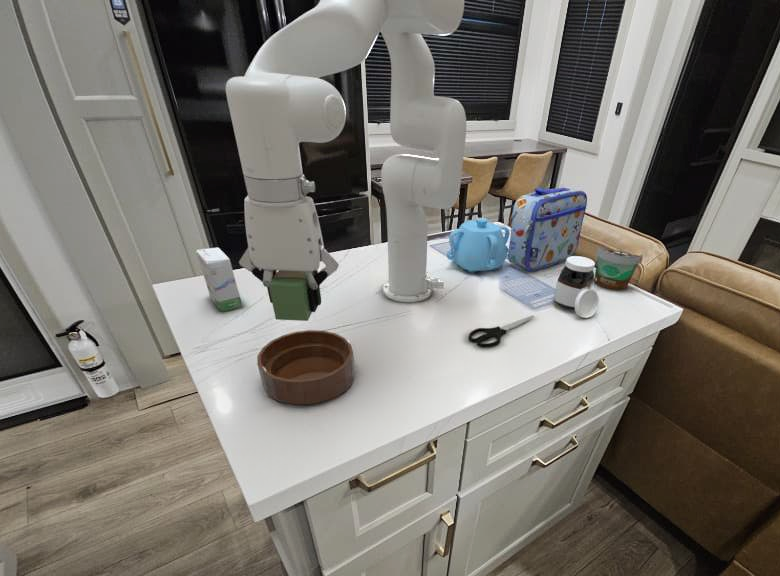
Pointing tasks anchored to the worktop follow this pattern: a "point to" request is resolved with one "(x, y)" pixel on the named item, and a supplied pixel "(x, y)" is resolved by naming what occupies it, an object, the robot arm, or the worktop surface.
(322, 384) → the bowl
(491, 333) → the scissors
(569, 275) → the spread jar
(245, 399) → the worktop surface
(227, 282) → the ink box
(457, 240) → the decorative pot
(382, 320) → the worktop surface
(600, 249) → the food container
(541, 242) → the lunch box
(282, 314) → the package
